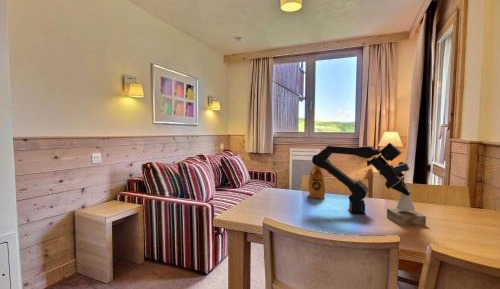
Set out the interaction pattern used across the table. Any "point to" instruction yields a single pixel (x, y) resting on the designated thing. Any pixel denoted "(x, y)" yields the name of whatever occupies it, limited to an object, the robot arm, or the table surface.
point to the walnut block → (406, 217)
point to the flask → (405, 202)
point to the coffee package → (316, 183)
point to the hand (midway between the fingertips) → (409, 194)
